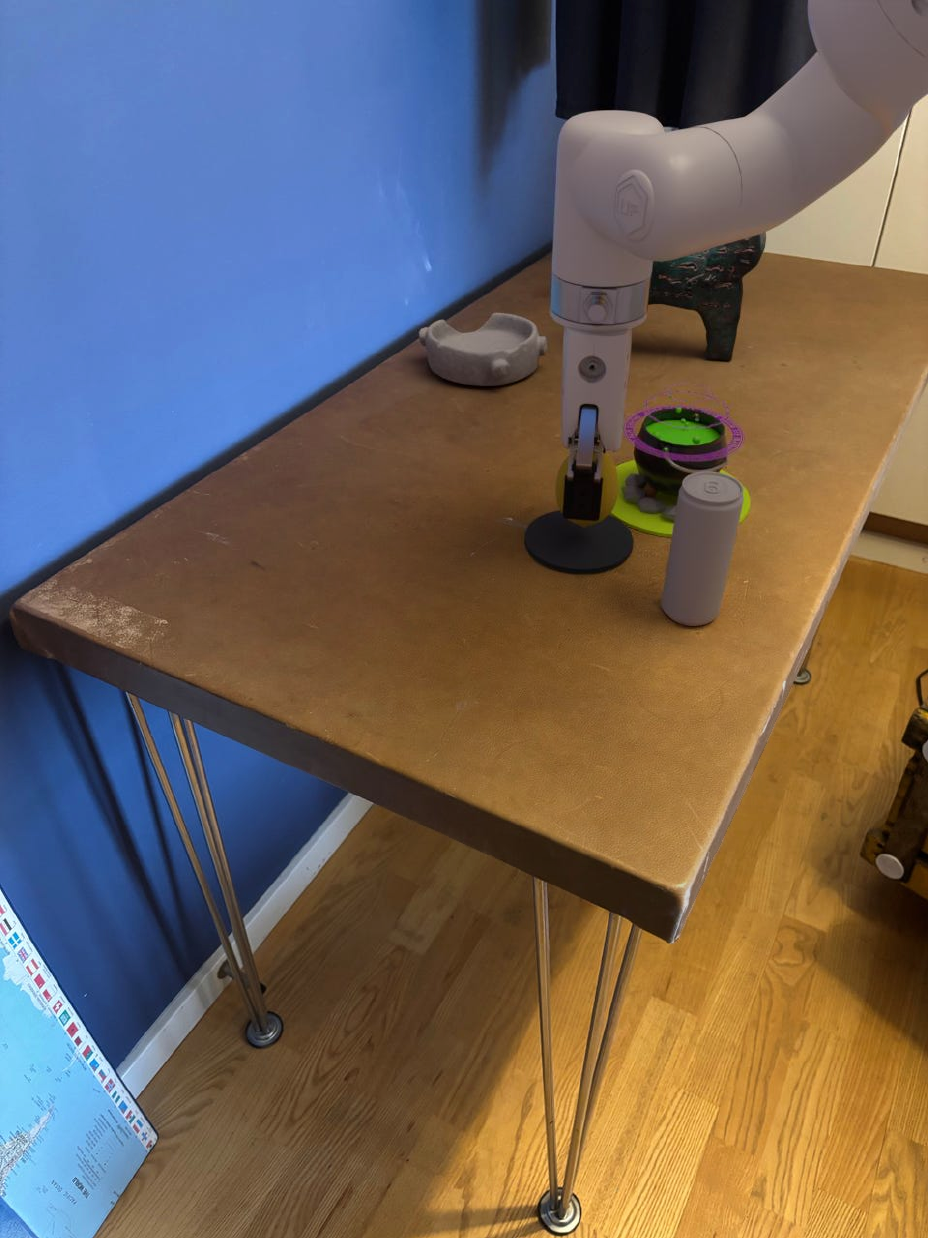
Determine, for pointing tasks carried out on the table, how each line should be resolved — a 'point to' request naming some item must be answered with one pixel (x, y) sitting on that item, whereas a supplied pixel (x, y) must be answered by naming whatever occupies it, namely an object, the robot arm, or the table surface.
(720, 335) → the ceramic cat
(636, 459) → the toy cauldron
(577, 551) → the disc
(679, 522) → the beverage can
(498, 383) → the dish
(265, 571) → the table surface
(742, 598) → the table surface
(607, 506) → the lemon
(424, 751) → the table surface
